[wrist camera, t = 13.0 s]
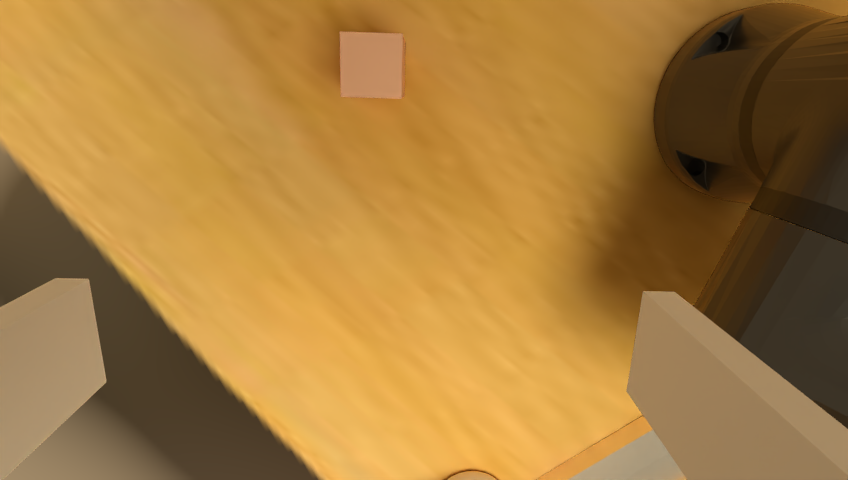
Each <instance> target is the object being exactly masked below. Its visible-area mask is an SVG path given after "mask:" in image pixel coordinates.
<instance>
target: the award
mask: <svg viewBox="0 0 848 480" xmlns="http://www.w3.org/2000/svg"><path fill="white" fill-rule="evenodd" d="M536 480H687V478H686V477H685V475H684V474H683V472H682V471H681V470H680V468H679V467H678V465H677V464H676V462H675V461H674V459H673V458H672V456H671V455H670V454H669V452H668V451H667V449H666V448H665V446H664V445H663V443H662V442H661V440H660V439H659V438H658V436H657V435H656V433H655V432H654V430H653V429H652V427H651V426H650V425H649V423H648V422H647V420H646V419H645V417H644V416H641V417H640V418H638V419H636V420H635V421H633V422H631V423H630V424H628V425H626V426H625V427H623V428H621V429H620V430H618V431H616V432H615V433H613V434H611V435H610V436H608V437H606V438H605V439H603V440H601V441H600V442H598V443H596V444H594V445H593V446H591V447H589V448H588V449H586V450H584V451H583V452H581V453H579V454H578V455H576V456H574V457H573V458H571V459H569V460H568V461H566V462H564V463H563V464H561V465H559V466H558V467H556V468H554V469H553V470H551V471H550V472H548V473H546V474H545V475H543V476H541V477H540V478H538V479H536Z"/></svg>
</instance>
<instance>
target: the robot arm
mask: <svg viewBox="0 0 848 480" xmlns="http://www.w3.org/2000/svg"><path fill="white" fill-rule="evenodd" d="M654 126H655V135H656V140H657V144H658V147H659V150H660V152H661V155H662V157H663V159H664V161H665V162H666V164H667V165H668V167H669V168H670V170H671V171H672V172H673V173H674V174H675V175H676V176H677V177H678V178H679V179H680V180H681V181H682V182H683V183H685V184H686V185H688V186H689V187H691V188H693V189H695V190H697V191H699V192H701V193H704V194H707V195H709V196H712V197H715V198H718V199H721V200H726V201H732V202H743V203H751V202H752V204H751V206H750V207H749V208H748V210H747V212H746V214H745V216H744V217H743V219H742V221H741V223H740V225H739V227H738V228H737V230H736V232H735V234H734V236H733V238H732V239H731V241H730V243H729V245H728V247H727V249H726V250H725V252H724V254H723V256H722V258H721V259H720V261H719V263H718V265H717V267H716V268H715V270H714V272H713V274H712V275H711V277H710V279H709V281H708V282H707V284H706V286H705V288H704V289H703V291H702V293H701V295H700V297H699V298H698V300H697V302H696V304H695V305H694V307H693V306H692V305H691V304H690V303H688V302H687V301H686V300H684V299H683V298H682V297H681V296H679V295H678V294H677V293H676V292H666V291H643V294H642V300H641V306H640V313H639V319H638V325H637V331H636V337H635V343H634V349H633V355H632V361H631V367H630V374H629V380H628V386H627V393H628V394H629V395H630V397H631V398H632V400H633V401H634V403H635V404H636V406H637V407H638V409H639V410H640V411H641V413H642V414H643V416H644V417H645V419H646V420H647V422H648V423H649V425H650V426H651V427H652V429H653V430H654V432H655V433H656V435H657V436H658V438H659V439H660V440H661V442H662V443H663V445H664V446H665V448H666V449H667V451H668V452H669V454H670V455H671V456H672V458H673V459H674V461H675V462H676V464H677V465H678V467H679V468H680V470H681V471H682V472H683V474H684V475H685V477H686V478H687V480H848V16H843V17H840V16H837V15H834V14H831V13H827V12H824V11H821V10H818V9H814V8H811V7H808V6H804V5H799V4H791V3H772V4H764V5H759V6H755V7H750V8H746V9H742V10H738V11H735V12H732V13H729V14H727V15H724V16H722V17H720V18H718V19H716V20H715V21H713V22H711V23H710V24H708V25H707V26H705V27H704V28H702V29H701V30H700V31H698V32H697V33H696V34H695V35H694V36H693V37H692V38H691V39H690V40H689V41H688V42H687V43H686V44H685V45H684V46H683V47H682V48H681V49H680V51H679V52H678V53H677V55H676V56H675V57H674V59H673V60H672V62H671V64H670V65H669V67H668V69H667V71H666V73H665V75H664V77H663V80H662V82H661V85H660V88H659V91H658V95H657V99H656V104H655V113H654ZM750 208H751V209H750ZM755 210H756V211H755ZM758 211H759V212H758ZM761 212H762V213H761ZM764 213H765V214H764ZM766 214H768V215H766ZM769 215H771V216H769ZM772 216H773V217H772ZM775 217H776V218H775ZM777 218H779V219H777ZM780 219H781V220H780ZM783 220H784V221H783ZM786 221H787V222H786ZM788 222H790V223H788ZM791 223H792V224H791ZM794 224H795V225H794ZM799 226H800V227H799ZM802 227H803V228H802ZM805 228H806V229H805ZM808 229H809V230H808ZM810 230H812V231H810ZM813 231H814V232H813ZM816 232H817V233H816ZM819 233H820V234H819ZM821 234H822V235H821ZM824 235H825V236H824ZM832 238H833V239H832ZM835 239H836V240H835ZM838 240H839V241H838ZM840 241H841V242H840ZM843 242H844V243H843ZM846 243H847V244H846ZM105 383H106V376H105V370H104V365H103V359H102V353H101V347H100V341H99V336H98V330H97V324H96V318H95V312H94V307H93V301H92V295H91V289H90V284H89V279H71V278H55V279H53V280H51V281H49V282H47V283H46V284H44V285H42V286H40V287H38V288H36V289H34V290H32V291H30V292H28V293H26V294H25V295H23V296H21V297H19V298H17V299H15V300H13V301H11V302H10V303H7V304H6V305H4V306H2V307H0V480H3V479H4V478H6V477H7V476H8V475H9V474H10V473H11V472H12V471H13V470H14V469H15V468H16V467H17V466H18V465H19V464H20V463H21V462H22V461H23V460H24V459H26V458H27V457H28V456H29V455H30V454H31V453H32V452H33V451H34V450H35V449H36V448H37V447H38V446H39V445H40V444H41V443H42V442H44V441H45V440H46V439H47V438H48V437H49V436H50V435H51V434H52V433H53V432H54V431H55V430H56V429H57V428H58V427H59V426H60V425H62V424H63V423H64V422H65V421H66V420H67V419H68V418H69V417H70V416H71V415H72V414H73V413H74V412H75V411H76V410H77V409H78V408H79V407H81V406H82V405H83V404H84V403H85V402H86V401H87V400H88V399H89V398H90V397H91V396H92V395H93V394H94V393H95V392H96V391H97V390H98V389H100V388H101V387H102V386H103V385H104V384H105Z"/></svg>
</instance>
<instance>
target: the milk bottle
mask: <svg viewBox="0 0 848 480" xmlns="http://www.w3.org/2000/svg"><path fill="white" fill-rule="evenodd" d="M447 480H497V479H496V478H494V477H493V476H491V475H489V474H487V473H483V472H478V471H466V472H462V473H458V474H456V475H453V476H452V477H450V478H449V479H447Z"/></svg>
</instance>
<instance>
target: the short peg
mask: <svg viewBox="0 0 848 480" xmlns="http://www.w3.org/2000/svg"><path fill="white" fill-rule="evenodd" d="M340 81H341V97H361V98H393V99H402V98H403V97H404V96H405V40H404V37H403V34H399V33H369V32H340Z"/></svg>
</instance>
